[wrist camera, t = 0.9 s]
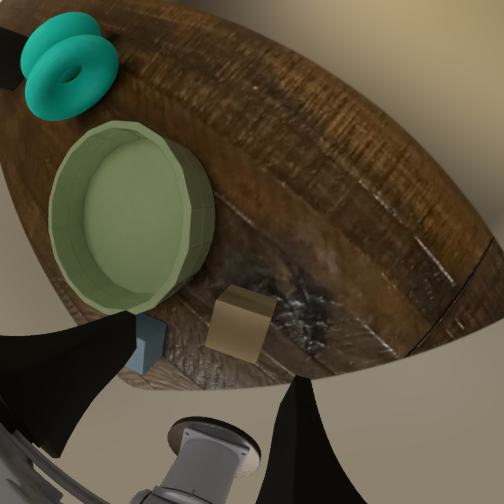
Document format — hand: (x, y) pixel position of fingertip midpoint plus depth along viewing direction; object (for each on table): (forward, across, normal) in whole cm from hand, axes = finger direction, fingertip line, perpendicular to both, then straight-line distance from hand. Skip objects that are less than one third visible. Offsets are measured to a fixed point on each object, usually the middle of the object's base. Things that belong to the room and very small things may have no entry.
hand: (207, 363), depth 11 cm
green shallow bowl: (+12, +12, -1) cm, 17 cm away
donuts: (+14, +24, -15) cm, 31 cm away
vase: (+15, +50, -20) cm, 56 cm away
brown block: (+11, 0, +4) cm, 12 cm away
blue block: (+10, +9, +10) cm, 17 cm away
